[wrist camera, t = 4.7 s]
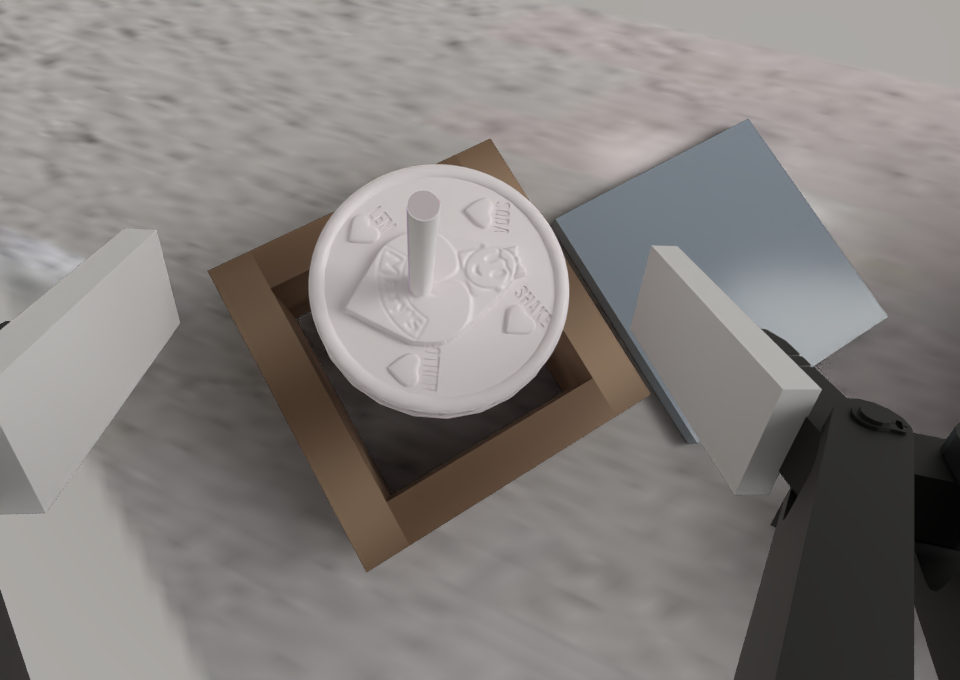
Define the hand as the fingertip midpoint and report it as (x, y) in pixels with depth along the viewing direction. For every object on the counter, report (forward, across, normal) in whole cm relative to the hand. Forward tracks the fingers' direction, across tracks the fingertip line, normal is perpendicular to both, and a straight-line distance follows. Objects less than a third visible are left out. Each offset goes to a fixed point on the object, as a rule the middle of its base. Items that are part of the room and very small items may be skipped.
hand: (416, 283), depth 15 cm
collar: (+5, +1, -6) cm, 8 cm away
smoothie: (+5, +1, -6) cm, 8 cm away
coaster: (+8, +13, -3) cm, 16 cm away
